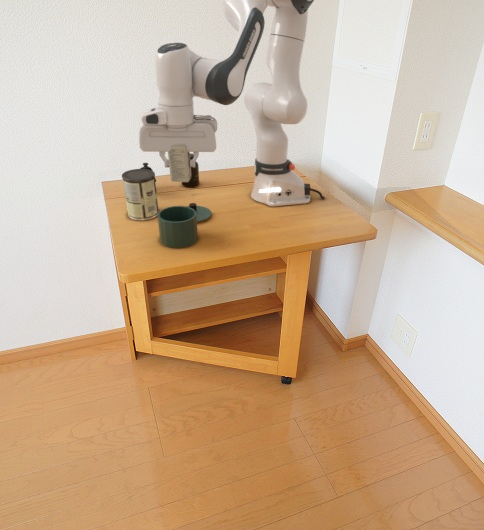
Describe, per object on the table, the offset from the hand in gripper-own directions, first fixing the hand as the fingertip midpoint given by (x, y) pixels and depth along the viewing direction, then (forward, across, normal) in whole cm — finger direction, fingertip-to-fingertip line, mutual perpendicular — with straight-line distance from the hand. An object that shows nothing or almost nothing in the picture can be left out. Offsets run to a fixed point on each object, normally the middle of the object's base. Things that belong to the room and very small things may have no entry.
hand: (180, 166), depth 113 cm
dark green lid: (+22, -2, -16) cm, 27 cm away
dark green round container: (+23, +2, 0) cm, 23 cm away
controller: (+23, +15, -37) cm, 46 cm away
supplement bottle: (+23, 0, -44) cm, 49 cm away
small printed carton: (+4, 0, 0) cm, 4 cm away
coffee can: (+23, +15, -18) cm, 33 cm away
